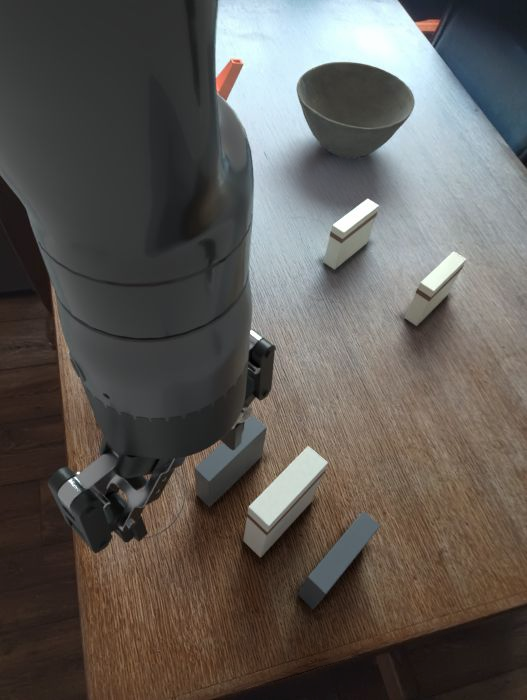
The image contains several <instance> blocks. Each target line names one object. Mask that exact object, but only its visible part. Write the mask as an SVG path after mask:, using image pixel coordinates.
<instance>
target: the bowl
mask: <svg viewBox="0 0 527 700" xmlns="http://www.w3.org/2000/svg"><path fill="white" fill-rule="evenodd" d="M296 95H297V98H298V102H299V105H300V107H301V111H302V114H303V117H304V119H305V122H306V124H307V126H308V128H309V130H310V131H311V133H312V135H313V136H314V138H315V140H316V142H318V143H319V145H321V146H322V147H323V148H324V149H325V150H327V152H329V153H331V154H332V155H335V156H338V157H341V158H344V159H345V158H346V159H355V158H359V157H363V156H367V155H369V154H371V153H373V152H375V151H377V150H379V149H380V148H381V147H383V146H384V145H385V144H386V143H388V141H390V139H391V138H392V137H393V136H394V135H395V134H396V132H397V131H398V130H400V128H401V127H402V126H403V125H404V124H405V123H406V121H407V120H408V119H409V117H410V116H411V115H412V113H413V111H414V108H415V103H416V100H415V96H414V94H413V91H412V90H411V88H410V86H408V85H407V84H406V83H405V82H404V81H403V80H401V79H400V78H399V77H398V76H397V75H394V74H393V73H391V72H389V71H387V70H384V69H383V68H380V67H377V66H373V65H370V64H365V63H362V62H360V63H359V62H352V61H332V62H331V61H330V62H325V63H323V64H319V65H317V66H313V67H312V68H310V69H308V70H307V71H306V72H304V73H303V74H302V75H301V76H300V77H299V79H298V81H297V83H296Z"/></svg>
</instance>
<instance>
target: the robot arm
mask: <svg viewBox="0 0 527 700" xmlns="http://www.w3.org/2000/svg"><path fill="white" fill-rule="evenodd" d="M220 1H221V0H0V177H1V178H2V179H3V180H4V181H5V183H6V184H7V186H8V187H9V189H11V190H12V192H13V193H14V194H15V195H16V197H17V198H18V199H19V201H20V203H22V205H23V206H24V208H25V211H26V214H27V217H28V220H29V221H28V222H29V223H30V227H31V229H32V233H33V235H34V239H35V241H36V244H37V246H38V249H39V252H40V255H41V258H42V260H43V263H44V266H45V268H46V271H47V273H48V277H49V279H50V282H51V284H52V287H53V291H54V294H55V298H56V302H57V303H56V305H57V311H58V317H59V323H60V327H61V331H62V334H63V337H64V340H65V343H66V346H67V348H68V351H69V352H68V356H69V362H70V364H71V366H72V368H73V370H74V372H75V374H76V376H77V377H78V378H79V379H80V382H81V384H82V388H83V390H84V393H85V395H86V397H87V400H88V403H89V405H90V408H91V411H92V413H93V416H94V418H95V421H96V423H97V425H98V427H99V430H100V431H101V433H102V440H101V444H100V446H99V457H98V458H97V459H95V460H94V461H93V462H91V464H89V465H88V466H86V467H85V468H84V469H82V471H81V470H78V471H76V472H74V471H73V470H72V469H71V468H70V467H69V466H63V467H61V468H59V469H57V470H56V471H55V472H54V473H53V474H52V475H51V476H50V478H48V481H47V486H48V487H49V490H50V492H51V495H52V496H53V498H54V500H55V502H56V505H57V506H58V509H59V511H60V513H61V515H62V517H63V519H64V521H65V522H66V524H67V525H68V526H69V527H70V528H71V529H72V530H73V531H74V533H75V534H76V535H77V536H78V537H79V538H80V539H81V540H82V541H83V542H84V543H85V545H86V546H87V547H88V549H90V550H91V551H92V552H93V554H98V553H100V552H101V551H103V550H105V549H106V548H107V547H108V546H109V545H110V543H111V541H112V539H113V534H112V533H113V532H114V533H115V534H116V535H117V537H119V538H120V539H121V540H122V541H123V542H124V543H130V541H132V540H133V539H135V540H136V541H137V542H141V541H142V540H143V539H144V538H145V537H146V536H147V535H148V530H147V527H146V523H145V521H144V519H143V516H142V513H143V512H144V510H145V508H146V506H148V505H150V504H152V503H154V502H155V501H157V500H159V499H160V498H161V495H162V494H163V492H164V490H165V488H166V486H168V485H167V484H168V483H169V481H170V478H171V477H172V475H173V473H174V472H175V470H176V469H178V468H179V467H181V466H182V465H183V464H184V463H185V461H186V459H187V457H190V456H194V455H197V454H199V453H201V452H203V451H205V450H207V449H210V447H212V446H214V445H215V444H217V443H218V442H219V441H221V443H222V442H223V443H224V444H225V445H226V446H227V447H229V448H230V449H231V450H235V449H236V448H237V447H238V446H239V445H240V444H241V440H242V433H243V431H244V426H245V421H246V420H248V419H249V418H250V417H251V416H252V412H253V408H252V407H251V406H250V405H251V404H252V403H253V402H254V400H255V399H257V400H258V401H259V402H261V401H263V400H264V399H266V398H267V397H268V396H269V395H270V393H271V391H272V387H273V386H272V385H273V375H274V366H275V364H274V363H275V354H276V353H275V352H276V345H274V344H273V343H272V342H270V341H269V340H268V339H266V338H265V337H264V336H263V335H262V334H260V332H257V331H256V330H255V329H254V328H252V320H253V297H252V295H253V294H252V286H251V279H250V263H251V251H252V250H251V247H252V234H253V222H254V221H253V220H254V219H253V218H254V196H255V195H254V192H255V191H254V189H255V178H254V177H255V176H254V162H253V155H252V149H251V145H250V141H249V138H248V135H247V131H246V127H244V125H243V123H242V121H241V119H240V117H239V116H238V114H237V112H236V111H235V109H233V108H232V106H231V105H230V104H229V103H228V102H227V101H225V100H224V98H222V97H221V96H220V95H218V94H217V89H216V77H217V62H216V61H217V59H216V57H217V34H218V24H219V23H218V22H219V21H218V20H219V11H220ZM145 476H149V478H148V479H147V478H146V477H145ZM119 491H121V492H122V493H123V494H124V495H125V496H126V497H127V500H126V498H125V497H123V495H122V494H121V493H120V492H119Z"/></svg>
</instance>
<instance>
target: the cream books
mask: <svg viewBox="0 0 527 700" xmlns="http://www.w3.org/2000/svg"><path fill="white" fill-rule="evenodd" d="M379 207H380V205H379V204H377V203H376V202H374V201H373V200H371V199H369V198H366V199H365V200H364V201H362V202H361V203H360V204H359V205H357V206H355V207H354V208H353V209H352V210H350V211H348V213H346V214H345V215H344V216H342V217H341V218H340V219H339V220H336V222H335V223H333V224H332V225H331V229H330V232H329V238H328V242H327V246H326V251H325V254H324V259H323V263H324V264H325V265H327V266H328V267H330V268H331V269H332V270H336V269H337V268H338V267H340V266H341V265H342V264H343V263H345V262H346V261H347V260H348V259H350V258H351V257H352V256H353V255H354V254H356V253H357V252H358V251H360V250H361V249H362V248H363V247H364V246H365V245H367V244H368V243H369V239H370V236H371V233H372V231H373V230H372V229H373V227H374V224H375V220H376V217H377V215H378V210H379ZM466 262H467V258H465V257H464V256H462V255H460V254H459V253H457V252H456V251H452V252H451V253H450V254H449V255H448V256H447V257H446V258H445V259H444V260H442V261H441V262H440V263H439V264H438V265H437V266H436V267H435V268H434V269H433V270H432V271H431V272H430V273H429V274H428V275H427V276H426V277H425V278H424V279H422V280H421V281H420V282H419V284H418V286H417V288H416V290H415V294H414V296H413V298H412V300H411V302H410V304H409V307H408V309H407V311H406V314H405V315H404V317H403V318H404V319H406V320H407V321H408V322H410V323H411V324H412V325H414V326H416V327H418V326H419V325H420V324H421V323H422V322H423V321H424V320H425V318H427V317H428V315H430V314H431V313H432V311H433V310H435V309H436V307H438V305H439V304H441V302H442V301H443V300H444V299H445V298H446V297H447V296H448V295H449V293H450V291H451V289H452V288H453V286H454V284H455V282H456V280H457V279H458V277H459V275H460V273H461V271H462V270H463V268H464V266H465V264H466Z"/></svg>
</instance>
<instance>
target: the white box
mask: <svg viewBox="0 0 527 700" xmlns="http://www.w3.org/2000/svg"><path fill="white" fill-rule="evenodd" d="M328 464H329V462H328V461H327V460H326V459H324V457H322V456H321V455H320V454H319V453H317V451H315V450H314V449H313V448H311V446H309V445H307V446H306V447H305V448H304V449H303V450H302V452H301V453H299V454H298V455H297V456H296V457H295V458H294V459H293V460H292V462H290V464H288V465H287V467H285V468H284V469H283V471H282V472H281V473H280V474H279V475H278V476H277V477H276V478H275V479H274V480H273V481H272V482H271V483H270V484H269V485H268V486H267V487H266V488H265V489H264V490H263V491H262V492H261V493H260V494H259V495H258V496H257V498H255V499H254V500H253V501H252V502H251V503H250V505H249V506H248V507H247V512H246V516H245V517H246V522H245V527H244V534H243V542H244V543H245V544H246V545H247V547H249V548H250V549H251V551H253V552H254V553H255V554H256V555H257V556H258V558H262V557H263V556H264V555H265V554H266V552H268V551H269V549H271V547H272V546H273V545H274V544H275V543H276V542H277V540H278V539H279V538H280V537H282V535H283V534H284V533H285V532H286V531H287V529H289V527H290V526H291V525H292V524H293V523H294V522H295V521H296V519H298V517H299V516H300V515H302V513H303V512H304V511H305V510H306V508H308V506H310V504H311V503H312V502H313V500H314V497H315V495H316V493H317V491H318V488H319V485H320V484H321V481H322V480H323V479H322V478H323V476H324V475H325V474H326V471H327V467H328Z"/></svg>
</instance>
